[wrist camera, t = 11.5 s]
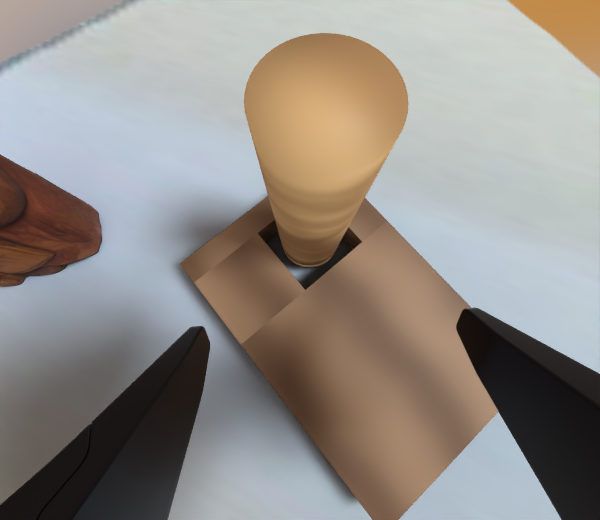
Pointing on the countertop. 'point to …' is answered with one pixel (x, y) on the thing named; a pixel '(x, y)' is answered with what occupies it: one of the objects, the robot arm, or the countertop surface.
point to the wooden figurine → (41, 226)
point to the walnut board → (354, 352)
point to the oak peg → (322, 135)
